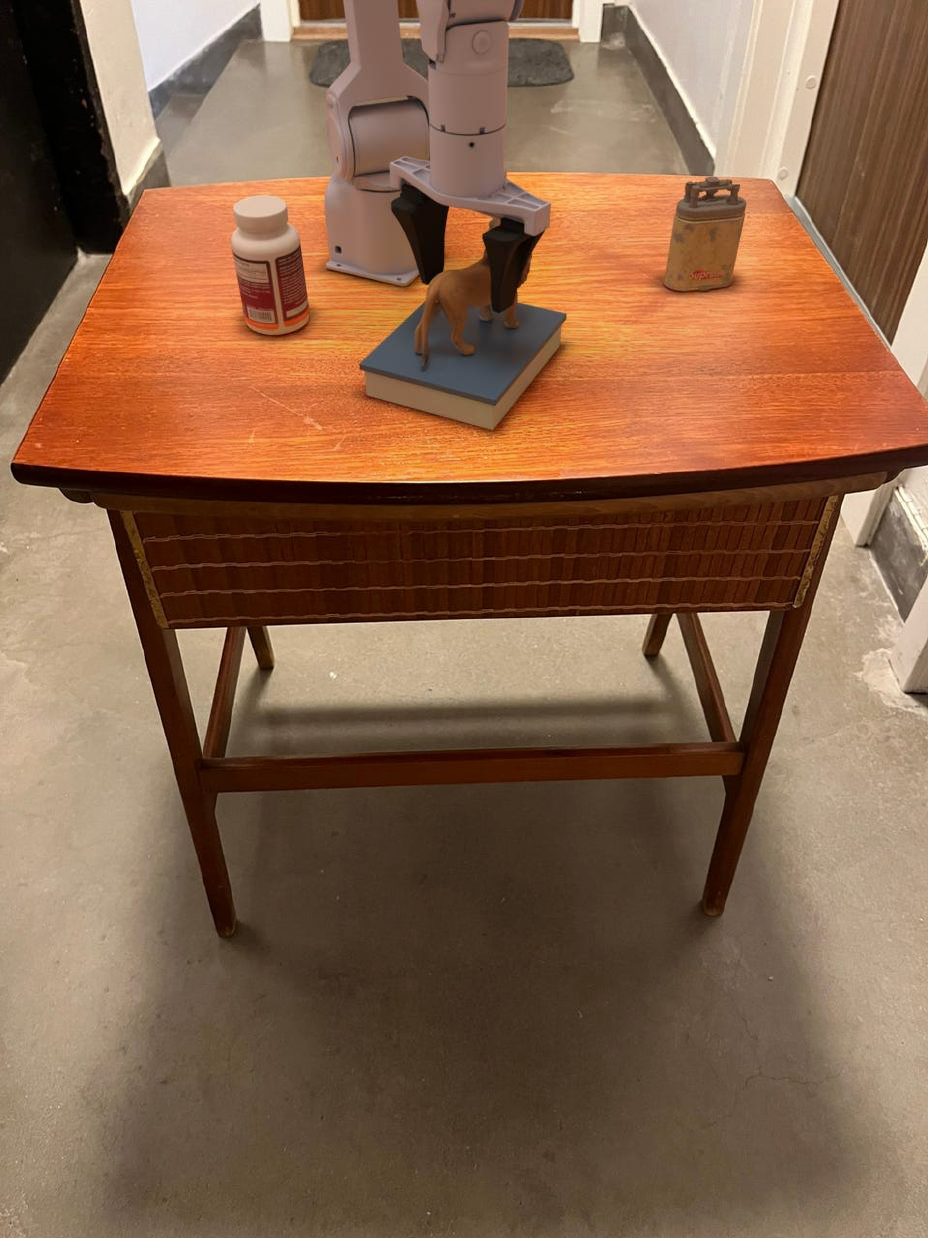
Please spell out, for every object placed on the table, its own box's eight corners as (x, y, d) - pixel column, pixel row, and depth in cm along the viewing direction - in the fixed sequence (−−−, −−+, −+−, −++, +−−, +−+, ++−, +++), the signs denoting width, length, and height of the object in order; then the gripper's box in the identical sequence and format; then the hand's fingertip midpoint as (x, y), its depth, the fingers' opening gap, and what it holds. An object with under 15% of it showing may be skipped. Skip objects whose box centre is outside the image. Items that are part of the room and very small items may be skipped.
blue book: (361, 396, 85) (358, 363, 82) (442, 315, 94) (442, 284, 92) (494, 433, 81) (495, 400, 78) (564, 345, 91) (567, 313, 88)
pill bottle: (301, 300, 96) (287, 186, 89) (317, 330, 92) (303, 214, 84) (239, 311, 95) (218, 196, 87) (252, 342, 91) (232, 224, 83)
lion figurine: (494, 293, 91) (497, 195, 84) (543, 309, 89) (550, 210, 82) (397, 362, 82) (392, 259, 76) (449, 382, 80) (448, 277, 74)
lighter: (723, 271, 101) (743, 171, 94) (738, 288, 98) (760, 187, 91) (658, 277, 100) (673, 177, 93) (671, 295, 97) (687, 193, 90)
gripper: (579, 128, 72) (565, 301, 81) (428, 86, 78) (431, 251, 88) (521, 157, 68) (514, 335, 77) (367, 110, 74) (378, 280, 84)
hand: (466, 293), depth 82 cm, fingers open, 7 cm apart
